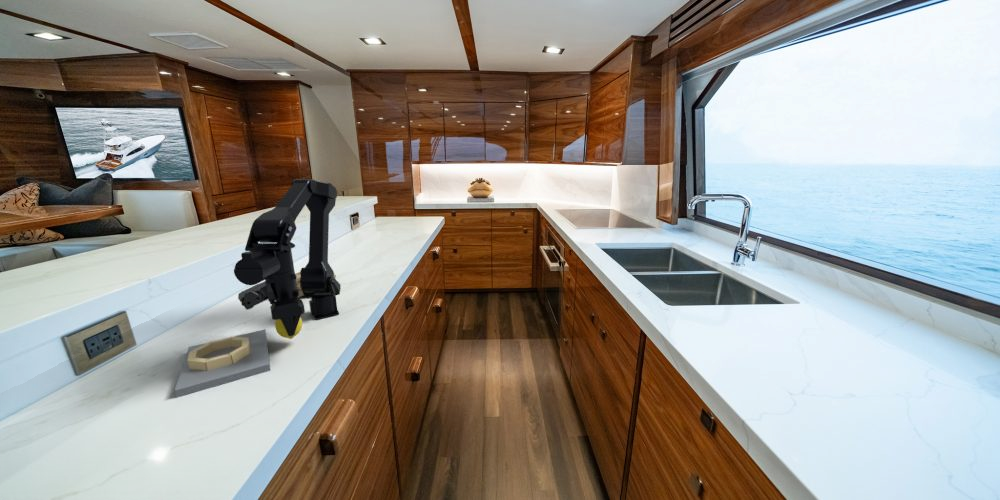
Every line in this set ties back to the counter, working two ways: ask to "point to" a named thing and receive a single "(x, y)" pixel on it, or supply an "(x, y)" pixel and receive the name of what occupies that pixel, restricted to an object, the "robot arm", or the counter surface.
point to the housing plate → (223, 362)
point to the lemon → (282, 330)
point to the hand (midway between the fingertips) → (290, 331)
